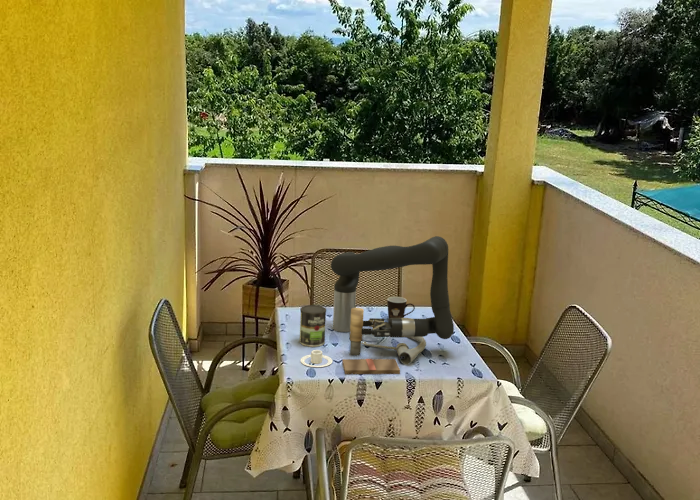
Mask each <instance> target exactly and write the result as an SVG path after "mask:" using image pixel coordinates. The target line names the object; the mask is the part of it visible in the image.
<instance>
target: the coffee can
mask: <svg viewBox="0 0 700 500" xmlns="http://www.w3.org/2000/svg"><path fill="white" fill-rule="evenodd" d="M299 309H300V321H299V323H300V324H299V325H300V326H299V329H300V330H299V344H301V346H305V347H310V348H315V347H322V346H323V345H324V344H325V343H326V342H325V341H326V339H325V338H326V321H327V320H326V319H327V318H326V317H327V308H326V307H324V306H322V305H316V304H310V305H309V304H308V305H303V306H301V307H300V308H299Z"/></svg>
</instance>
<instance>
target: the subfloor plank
mask: <svg viewBox="0 0 700 500" xmlns="http://www.w3.org/2000/svg"><path fill="white" fill-rule="evenodd" d="M342 367H343V371H344V375H401V369H400V367H399V364H398V362H397V360H396V358H382V359H381V358H378V359H377V358H363V359H362V358H360V359H359V358H355V359H354V358H351V359H350V358H349V359H348V358H347V359H345V358H343V359H342Z"/></svg>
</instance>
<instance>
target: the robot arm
mask: <svg viewBox="0 0 700 500" xmlns="http://www.w3.org/2000/svg"><path fill="white" fill-rule="evenodd" d="M448 263H449V244H448V242H447V241H446V239H445V238H443V237H442V236H432V237H430V238H429V239H427V240H425V241H423V242H420V243H417V244H414V245H410V246H409V245H408V246H401V245H387V246H379V247H376V248H372V249H369V250H366V251H363V252H360V253H355V252H353V251H347V252H343V253H339V254H337V255H336V256H334V257H333V258H332V260H331V263H330V269H331V270H332V272H333V273H334V274H335V275H337V276H339V277H338V279H337V280H336V281H335V282H334V286H333V287H334V290H333V310H332V311H333V312H332V313H333V314H332V315H333V317H332V329H333V330H334V331H337V332H339V333H348V332H349V333H350V323H351V309H352V308H357V306H356V304H357V303H356V302H357V299H356V298H357V297H356V296H357V286H358V284H359V280H360V273H361V272H375V271H376V272H378V271H386V270H393V269H398V268H404V267H407V266H408V267H409V266H415V265H416V266H417V265H419V266H420V265H423V266H424V265H427V266H428V265H431V267H432V277H431V284H430V290H429V291H430V293H429V294H430V295H429V297H430V306H431V310H432V314H433V315H434V316H433V317H432V316H431V317H427V318H410V317H404V318H390V319H389V320H388V321H385V318H376V317H375V318H372V317H370V318H368V320H363V328H362V332H361V333H362V336H364V335H371V336H373V337H374V338H407V337H423V338H425V337H427V336H428V335H430V334H436V335H437V337H438V338H440V339H442V340H448V339H450V338H451V337H452V336H453V334H454V333H455V332H454V331H455V326H454V321H453V316H452V313H451V309H450V308H451V307H450V305H451V304H450V296H449V286H448V285H449V284H448V277H449V276H448V275H449V274H448V272H449V271H448V268H449V266H448V265H449V264H448ZM365 327H366V328H365ZM368 327H370V328H368Z"/></svg>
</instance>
